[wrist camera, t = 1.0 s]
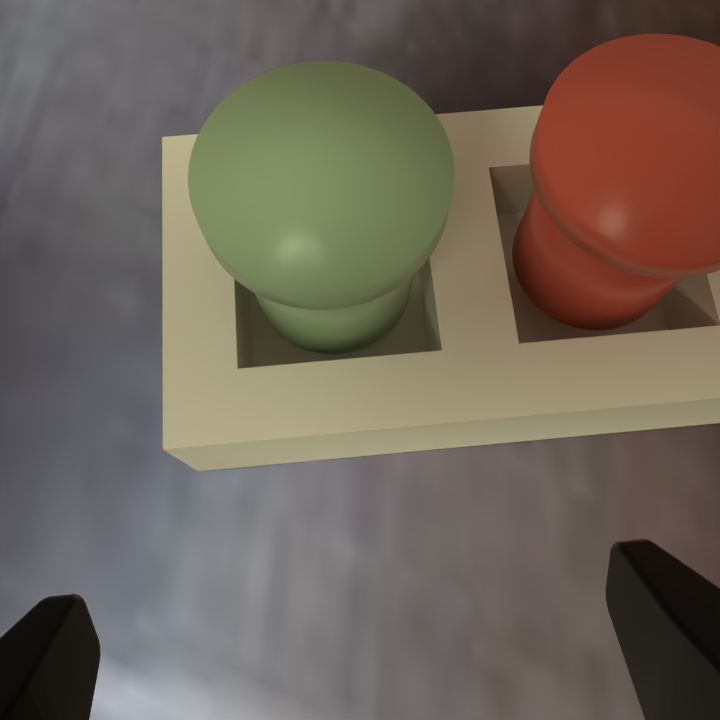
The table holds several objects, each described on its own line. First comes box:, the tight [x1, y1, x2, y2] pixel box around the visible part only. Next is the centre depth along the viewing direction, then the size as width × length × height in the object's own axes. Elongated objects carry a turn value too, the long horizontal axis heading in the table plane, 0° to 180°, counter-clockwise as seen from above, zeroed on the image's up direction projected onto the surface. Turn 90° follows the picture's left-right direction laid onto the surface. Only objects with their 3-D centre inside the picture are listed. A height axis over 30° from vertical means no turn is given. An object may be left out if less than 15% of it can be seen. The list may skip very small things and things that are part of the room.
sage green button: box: [188, 61, 455, 354], centre depth 18 cm, size 6×6×6 cm
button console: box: [162, 105, 720, 471], centre depth 22 cm, size 10×26×4 cm, turn 95°
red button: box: [512, 34, 720, 330], centre depth 18 cm, size 6×6×6 cm
